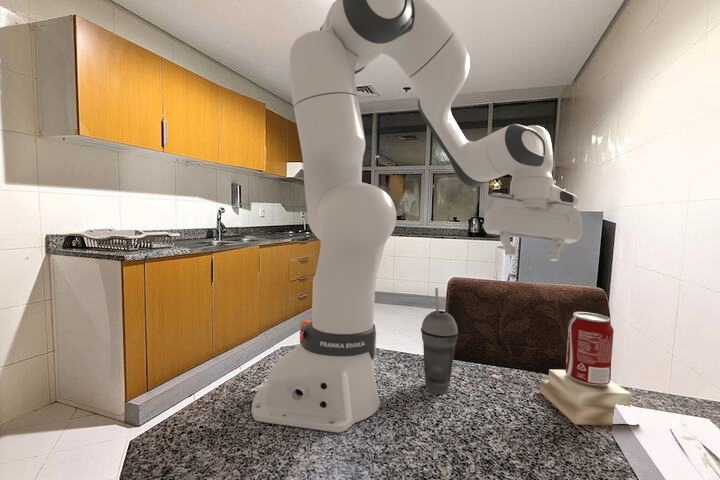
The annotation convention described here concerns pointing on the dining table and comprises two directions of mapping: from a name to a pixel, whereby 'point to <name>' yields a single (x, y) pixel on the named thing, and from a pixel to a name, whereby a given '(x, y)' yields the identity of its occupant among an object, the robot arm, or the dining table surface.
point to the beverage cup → (438, 348)
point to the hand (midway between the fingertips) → (532, 257)
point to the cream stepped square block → (583, 399)
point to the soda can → (589, 349)
